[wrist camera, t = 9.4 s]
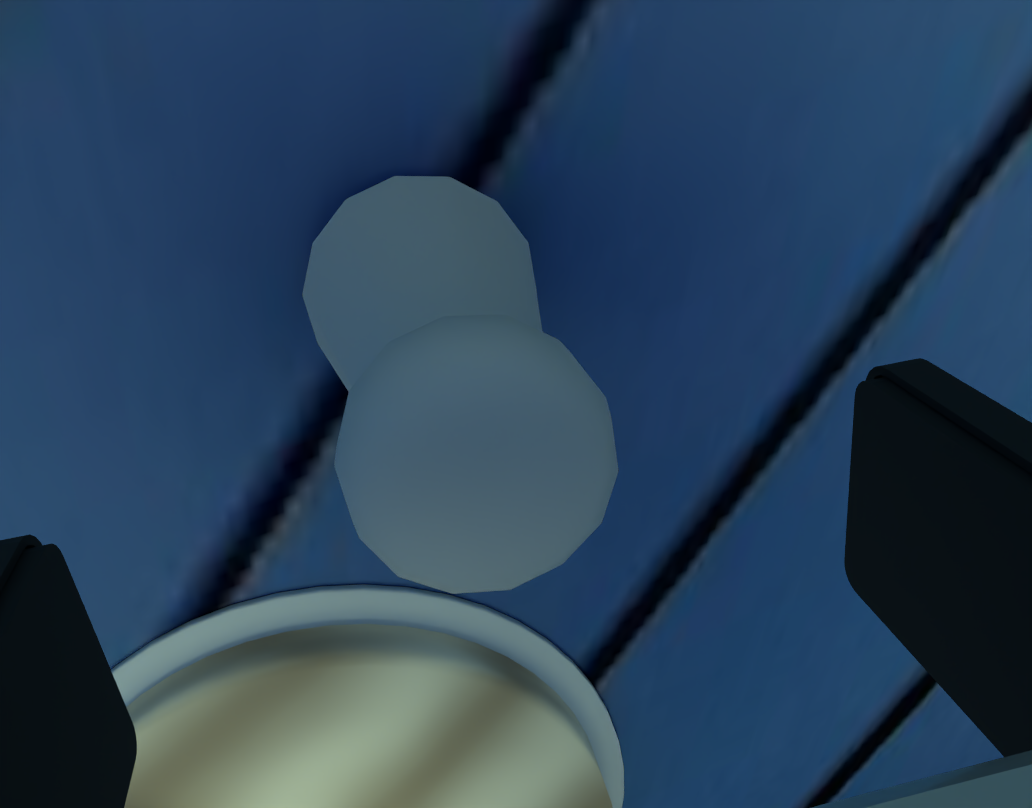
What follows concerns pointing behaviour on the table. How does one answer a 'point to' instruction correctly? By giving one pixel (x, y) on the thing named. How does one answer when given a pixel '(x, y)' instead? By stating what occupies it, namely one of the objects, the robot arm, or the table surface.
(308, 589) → the dial base
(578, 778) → the dial
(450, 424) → the salt shaker
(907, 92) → the table surface
